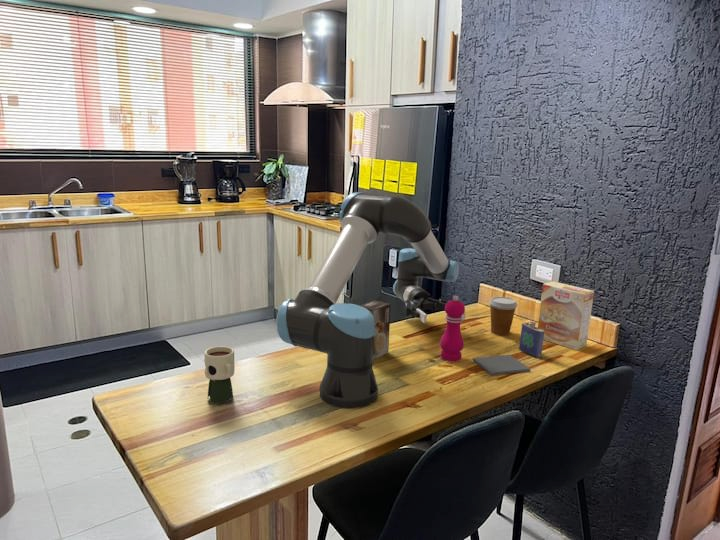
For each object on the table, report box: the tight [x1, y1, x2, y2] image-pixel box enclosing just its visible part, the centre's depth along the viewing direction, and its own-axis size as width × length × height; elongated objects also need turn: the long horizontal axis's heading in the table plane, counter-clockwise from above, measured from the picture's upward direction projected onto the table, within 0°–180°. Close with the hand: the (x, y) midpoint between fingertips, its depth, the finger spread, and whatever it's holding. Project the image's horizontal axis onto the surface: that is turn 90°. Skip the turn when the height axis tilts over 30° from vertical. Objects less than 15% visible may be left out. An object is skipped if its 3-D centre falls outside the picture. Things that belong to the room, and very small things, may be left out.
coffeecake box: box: [537, 280, 595, 351], centre depth 185 cm, size 15×7×20 cm, turn 42°
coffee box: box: [359, 299, 392, 361], centre depth 168 cm, size 9×6×16 cm
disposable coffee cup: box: [488, 296, 518, 336], centre depth 192 cm, size 10×10×12 cm
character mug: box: [203, 345, 235, 404], centre depth 135 cm, size 11×7×13 cm, turn 41°
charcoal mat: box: [471, 354, 531, 376], centre depth 165 cm, size 13×11×1 cm
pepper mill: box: [439, 295, 466, 362], centre depth 167 cm, size 7×7×20 cm
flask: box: [518, 320, 545, 359], centre depth 175 cm, size 9×3×11 cm, turn 25°
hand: (445, 317), depth 173 cm, fingers open, 13 cm apart
